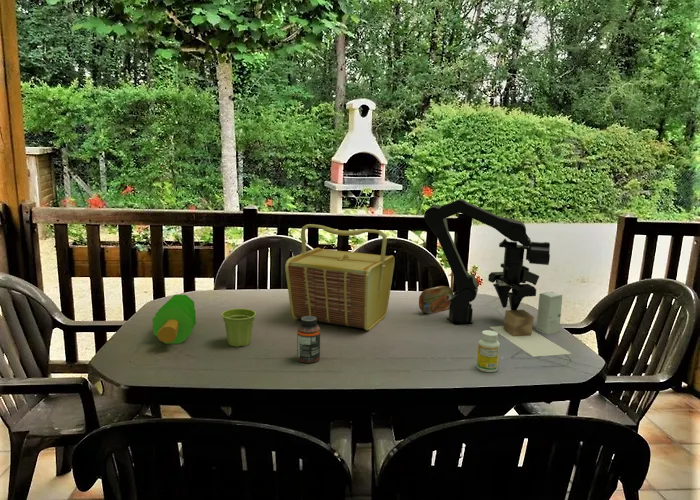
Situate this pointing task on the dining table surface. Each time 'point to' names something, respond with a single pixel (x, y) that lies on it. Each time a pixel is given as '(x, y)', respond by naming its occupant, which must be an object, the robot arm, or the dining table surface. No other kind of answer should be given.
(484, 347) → the supplement bottle
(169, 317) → the decorative tree
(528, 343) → the cream mat
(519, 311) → the tan cube
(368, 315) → the picnic basket
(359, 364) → the dining table surface
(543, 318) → the skincare box
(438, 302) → the tin
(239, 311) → the plant pot
